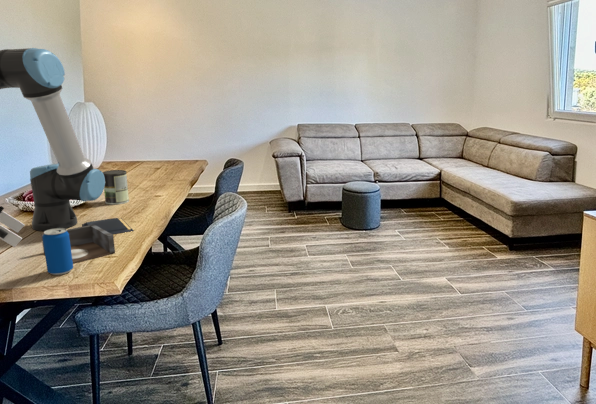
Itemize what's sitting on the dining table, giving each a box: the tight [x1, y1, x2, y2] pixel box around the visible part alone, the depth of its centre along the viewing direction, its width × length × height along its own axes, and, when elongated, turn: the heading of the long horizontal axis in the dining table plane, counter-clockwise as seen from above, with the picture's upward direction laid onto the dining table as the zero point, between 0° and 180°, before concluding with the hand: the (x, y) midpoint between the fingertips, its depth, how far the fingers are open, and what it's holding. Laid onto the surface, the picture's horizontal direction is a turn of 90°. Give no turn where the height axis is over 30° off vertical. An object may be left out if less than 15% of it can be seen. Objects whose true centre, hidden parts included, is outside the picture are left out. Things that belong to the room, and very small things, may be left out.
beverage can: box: [42, 228, 74, 276], centre depth 124 cm, size 6×6×12 cm
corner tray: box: [40, 224, 116, 265], centre depth 140 cm, size 16×16×6 cm
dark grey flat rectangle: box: [81, 217, 135, 236], centre depth 166 cm, size 20×2×15 cm
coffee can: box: [102, 169, 130, 206], centre depth 203 cm, size 10×10×14 cm
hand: (20, 235), depth 119 cm, fingers open, 13 cm apart
